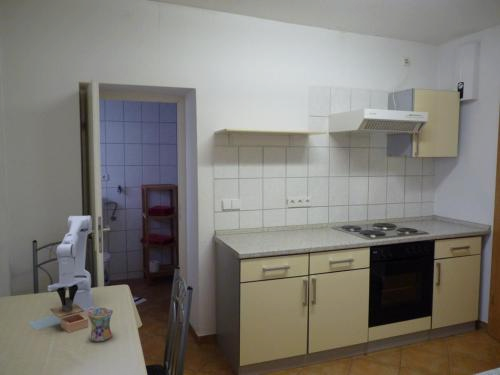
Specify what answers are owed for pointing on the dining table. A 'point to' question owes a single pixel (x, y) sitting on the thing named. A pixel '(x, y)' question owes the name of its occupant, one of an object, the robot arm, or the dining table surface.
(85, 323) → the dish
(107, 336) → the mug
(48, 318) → the mat
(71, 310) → the lid
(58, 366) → the dining table surface
